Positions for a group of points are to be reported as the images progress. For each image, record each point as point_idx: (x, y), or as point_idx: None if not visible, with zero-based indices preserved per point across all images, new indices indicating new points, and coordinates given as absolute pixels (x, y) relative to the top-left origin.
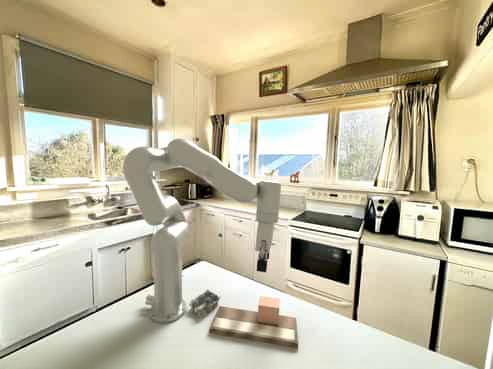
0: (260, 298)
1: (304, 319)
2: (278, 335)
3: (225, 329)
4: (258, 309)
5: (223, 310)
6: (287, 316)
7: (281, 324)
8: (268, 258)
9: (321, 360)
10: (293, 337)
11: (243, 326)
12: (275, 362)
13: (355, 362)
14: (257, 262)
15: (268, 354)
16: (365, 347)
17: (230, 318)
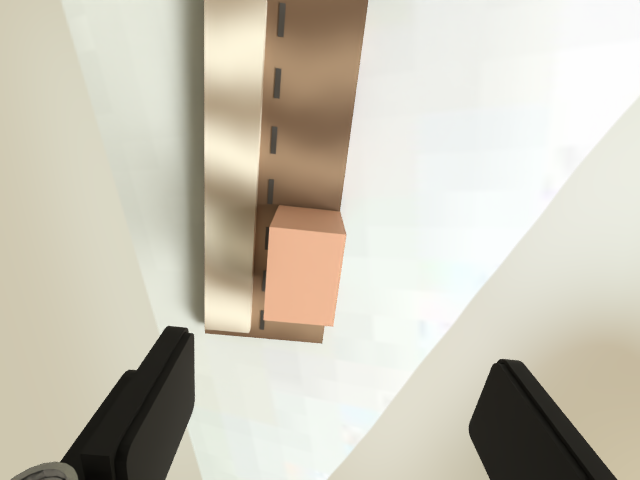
0: (325, 237)
1: (335, 361)
2: (212, 280)
3: (206, 63)
4: (272, 221)
5: (335, 30)
6: None
7: None
8: (471, 437)
9: None
10: (215, 326)
11: (230, 147)
12: (143, 256)
13: (197, 442)
14: (117, 406)
15: (165, 237)
16: (248, 476)
17: (285, 78)
